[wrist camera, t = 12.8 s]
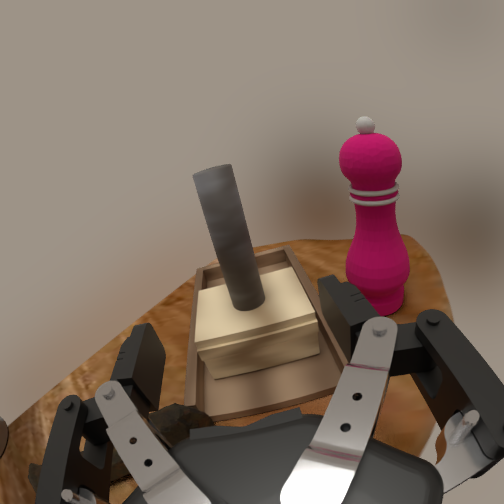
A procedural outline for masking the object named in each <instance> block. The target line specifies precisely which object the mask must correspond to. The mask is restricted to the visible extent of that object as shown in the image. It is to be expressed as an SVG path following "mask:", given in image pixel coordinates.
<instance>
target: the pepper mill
mask: <svg viewBox="0 0 504 504" xmlns="http://www.w3.org/2000/svg"><path fill="white" fill-rule="evenodd" d="M356 128H357V130H358V132H360V134H358V135H355V136H353V137H351V138H349V139H348V140H347V141H346V142H345V143H344V144H343V146H342V148H341V150H340V156H339V163H340V168H341V171H342V173H343V174H344V176H345V177H347V179H349V181H350V182H351V185H350V186H349V188H348V189H349V191H350V197H349V198H350V201H352V202H353V203H354V204H355V209H356V231H355V235H354V238H353V241H352V244H351V246H350V249H349V251H348V255H347V259H346V276H347V279H348V281H349V282H350V283H351V284H353V285H355V286H356V287H357V288H358V289H359V290H360V292H361V294H363V295H364V296H365V299H367V300H368V301H369V303H370V304H371V305H372V306H373V307H374V309H375V310H376V311H377V312H378V314H379V315H380V316H386V315H390V314H392V313H394V312H396V311H397V310H398V309H399V308H400V307H401V305H402V303H403V296H404V286H403V284H404V283H405V282H406V280H407V279H408V276H409V272H410V267H409V257H408V253H407V250H406V247H405V245H404V243H403V240H402V238H401V235H400V233H399V230H398V227H397V223H396V215H395V203H396V201H397V200H398V199H399V193H398V189H399V185H398V184H397V182H395V179H396V177H397V176H398V174H399V173H400V171H401V167H402V159H401V154H400V152H399V149H398V147H397V145H396V144H395V143H394V142H393V141H392V140H391V139H390V138H388V137H387V136H385V135H382V134H378V133H373V131H374V129H375V124H374V122H373V120H372V119H371V118H369V117H361V118H359V119H358V120H357V122H356Z"/></svg>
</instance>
